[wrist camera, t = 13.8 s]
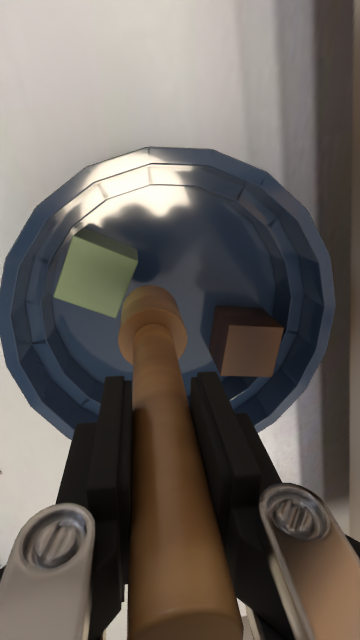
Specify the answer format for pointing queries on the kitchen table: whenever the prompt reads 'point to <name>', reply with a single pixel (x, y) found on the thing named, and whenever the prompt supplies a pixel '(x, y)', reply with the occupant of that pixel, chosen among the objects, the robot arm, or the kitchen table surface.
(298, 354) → the mixing bowl
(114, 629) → the kitchen table surface
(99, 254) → the sage block
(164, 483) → the muddler
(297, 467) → the kitchen table surface
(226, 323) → the walnut block
